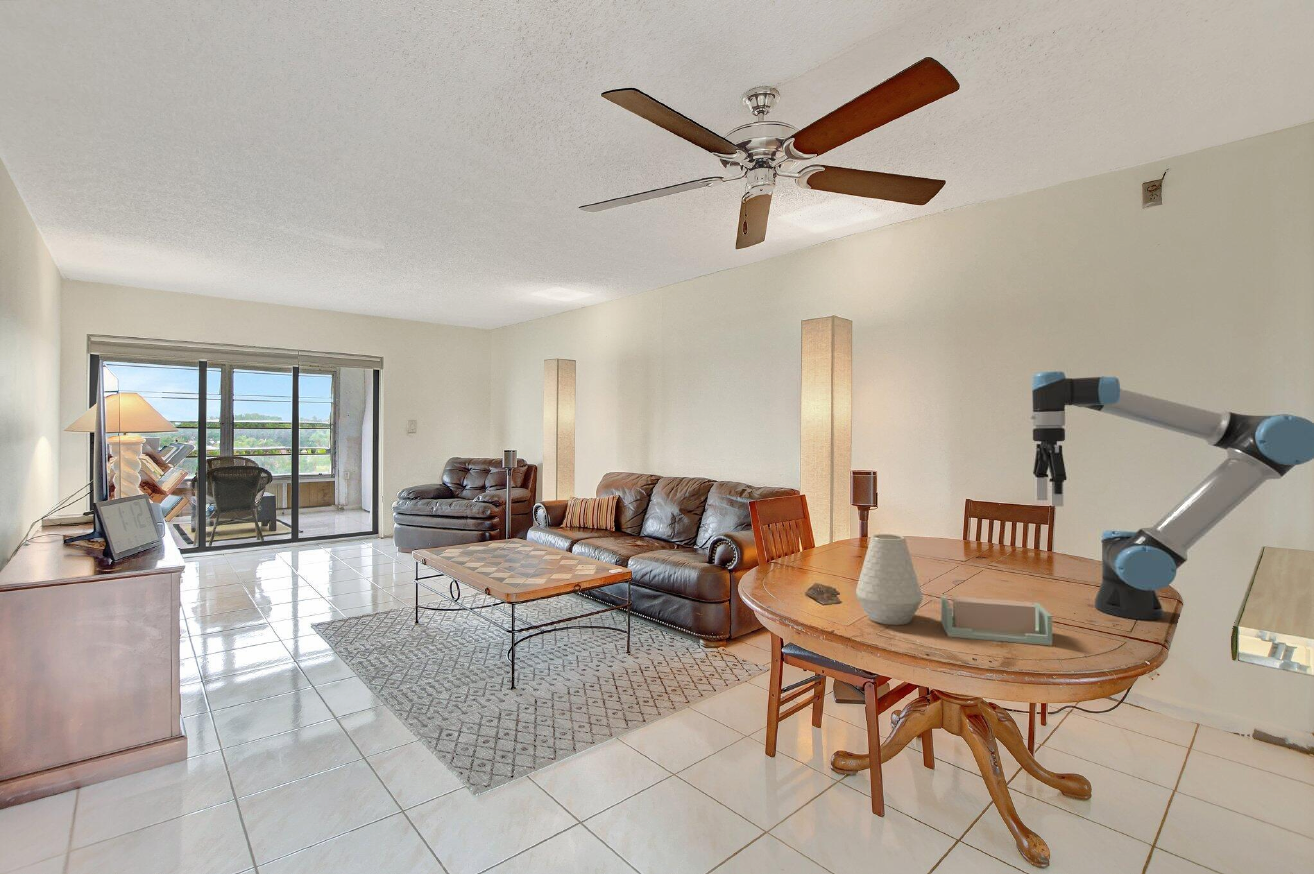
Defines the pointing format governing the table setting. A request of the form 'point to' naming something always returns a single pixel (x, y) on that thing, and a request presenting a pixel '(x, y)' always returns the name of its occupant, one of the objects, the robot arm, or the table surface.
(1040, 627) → the tray
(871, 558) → the vase
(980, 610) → the pinkish tan rectangular block
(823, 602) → the wooden fragment
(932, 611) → the table surface
